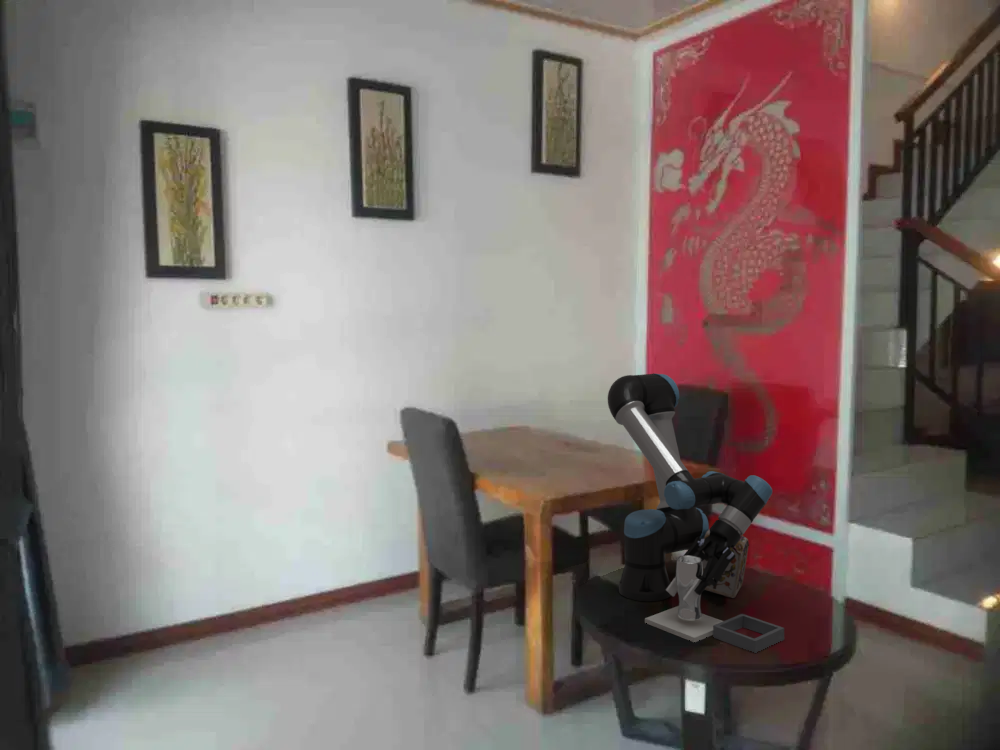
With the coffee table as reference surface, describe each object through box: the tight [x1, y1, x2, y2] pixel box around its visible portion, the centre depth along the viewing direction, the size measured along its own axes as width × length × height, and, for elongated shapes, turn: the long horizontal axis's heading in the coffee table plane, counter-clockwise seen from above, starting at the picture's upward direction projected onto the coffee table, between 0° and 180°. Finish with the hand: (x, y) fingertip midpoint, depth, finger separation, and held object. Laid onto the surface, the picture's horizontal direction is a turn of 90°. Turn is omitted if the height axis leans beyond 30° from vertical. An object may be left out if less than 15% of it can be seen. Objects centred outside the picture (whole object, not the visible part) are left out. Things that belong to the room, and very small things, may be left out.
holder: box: [712, 613, 785, 654], centre depth 184 cm, size 12×12×3 cm
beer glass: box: [675, 555, 703, 621], centre depth 191 cm, size 7×7×15 cm
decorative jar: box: [702, 528, 750, 599], centre depth 217 cm, size 12×12×18 cm
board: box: [644, 605, 724, 643], centre depth 193 cm, size 16×14×1 cm
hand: (678, 597), depth 190 cm, fingers closed on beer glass, 7 cm apart
